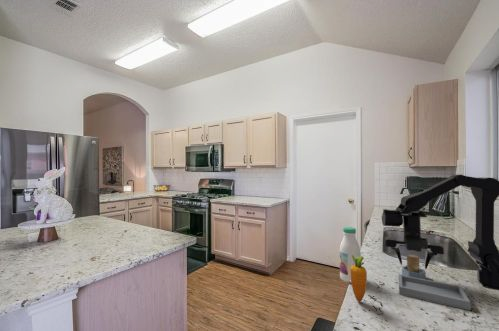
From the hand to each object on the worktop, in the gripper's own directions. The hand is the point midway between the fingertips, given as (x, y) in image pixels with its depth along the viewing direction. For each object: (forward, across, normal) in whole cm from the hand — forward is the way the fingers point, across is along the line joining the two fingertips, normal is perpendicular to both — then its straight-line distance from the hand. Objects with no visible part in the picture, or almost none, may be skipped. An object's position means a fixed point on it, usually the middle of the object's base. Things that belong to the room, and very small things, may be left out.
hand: (413, 266), depth 92 cm
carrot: (+4, -16, -32) cm, 36 cm away
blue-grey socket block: (+4, 0, 0) cm, 4 cm away
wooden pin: (+4, 0, 0) cm, 4 cm away
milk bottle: (+4, -21, -16) cm, 26 cm away
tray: (+4, +4, -13) cm, 14 cm away
